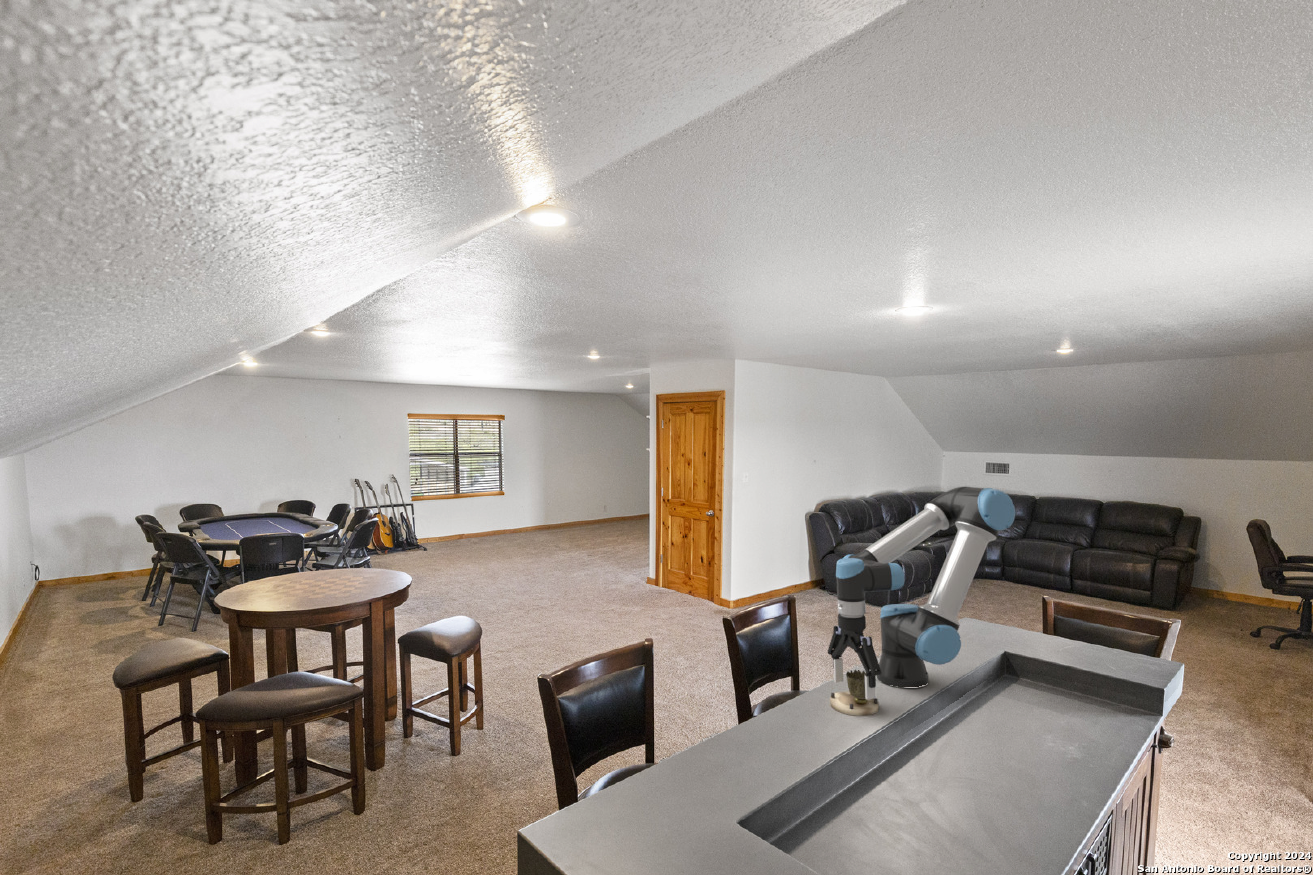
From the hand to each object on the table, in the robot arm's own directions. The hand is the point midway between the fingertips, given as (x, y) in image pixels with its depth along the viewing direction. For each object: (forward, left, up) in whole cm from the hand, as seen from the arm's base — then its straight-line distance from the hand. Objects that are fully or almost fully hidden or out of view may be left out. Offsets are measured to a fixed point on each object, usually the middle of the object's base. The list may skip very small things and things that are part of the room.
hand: (854, 689), depth 177 cm
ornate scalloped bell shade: (0, +2, -3) cm, 4 cm away
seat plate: (0, 0, -5) cm, 5 cm away
